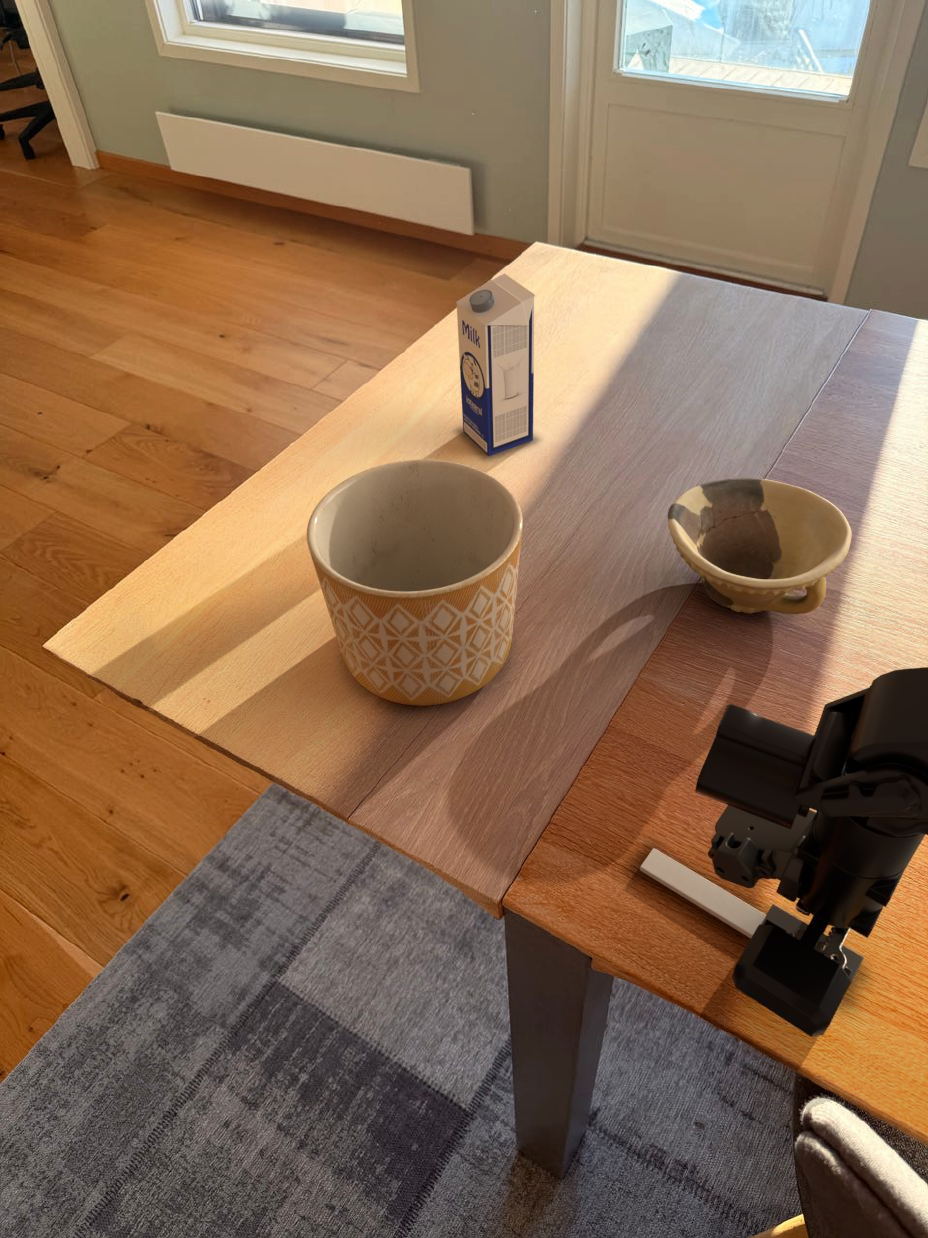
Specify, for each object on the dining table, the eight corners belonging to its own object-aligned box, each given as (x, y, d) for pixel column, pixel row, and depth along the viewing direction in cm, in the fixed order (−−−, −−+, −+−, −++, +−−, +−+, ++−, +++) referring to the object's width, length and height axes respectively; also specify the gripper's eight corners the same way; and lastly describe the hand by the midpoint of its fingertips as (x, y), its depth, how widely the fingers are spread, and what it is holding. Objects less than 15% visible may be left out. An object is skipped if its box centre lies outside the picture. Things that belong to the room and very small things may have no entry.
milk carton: (534, 440, 118) (535, 293, 104) (489, 456, 116) (484, 308, 102) (505, 415, 123) (503, 271, 108) (462, 430, 120) (454, 285, 106)
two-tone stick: (855, 971, 67) (864, 957, 65) (843, 997, 66) (851, 983, 64) (653, 850, 75) (656, 834, 73) (638, 871, 74) (641, 856, 72)
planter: (309, 710, 87) (277, 585, 76) (359, 576, 101) (339, 452, 89) (508, 732, 84) (506, 605, 73) (532, 591, 98) (534, 465, 86)
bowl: (863, 591, 96) (889, 520, 89) (761, 680, 88) (781, 609, 81) (725, 517, 105) (739, 447, 98) (622, 591, 97) (630, 521, 90)
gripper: (801, 687, 65) (760, 809, 76) (674, 876, 55) (648, 985, 66) (962, 762, 60) (893, 881, 71) (854, 986, 50) (794, 1084, 61)
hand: (807, 950), depth 67 cm, fingers open, 6 cm apart
